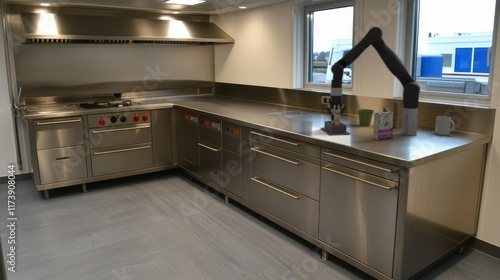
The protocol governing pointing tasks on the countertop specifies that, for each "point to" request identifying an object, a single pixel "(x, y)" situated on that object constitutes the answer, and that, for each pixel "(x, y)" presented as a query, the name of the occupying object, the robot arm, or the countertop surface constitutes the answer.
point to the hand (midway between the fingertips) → (335, 120)
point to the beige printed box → (336, 118)
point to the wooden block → (394, 114)
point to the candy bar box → (383, 125)
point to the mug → (443, 125)
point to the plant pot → (365, 116)
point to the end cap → (335, 129)
